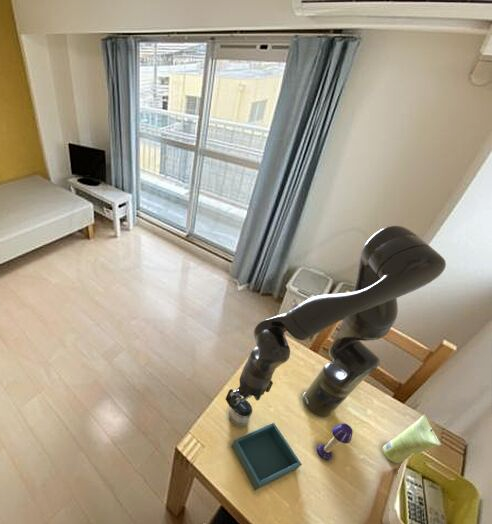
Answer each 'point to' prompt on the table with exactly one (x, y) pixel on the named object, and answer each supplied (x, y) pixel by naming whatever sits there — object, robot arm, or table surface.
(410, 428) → the tube
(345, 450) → the table surface
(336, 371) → the robot arm
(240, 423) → the camera lens
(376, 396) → the table surface
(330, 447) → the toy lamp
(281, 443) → the crate
